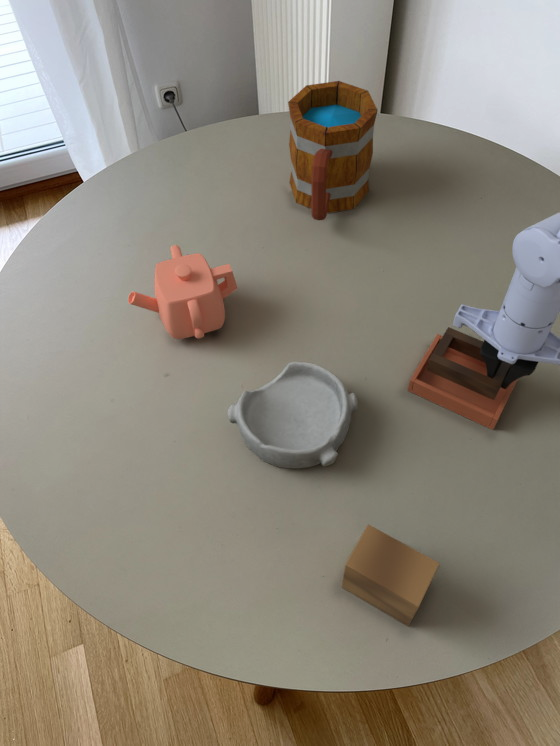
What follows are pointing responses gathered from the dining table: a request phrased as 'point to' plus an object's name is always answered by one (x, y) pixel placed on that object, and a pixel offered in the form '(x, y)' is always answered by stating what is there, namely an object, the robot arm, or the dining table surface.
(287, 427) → the dish
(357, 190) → the mug
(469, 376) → the frame
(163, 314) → the teapot
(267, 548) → the dining table surface
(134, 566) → the dining table surface
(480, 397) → the holder
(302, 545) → the dining table surface
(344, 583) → the stand
